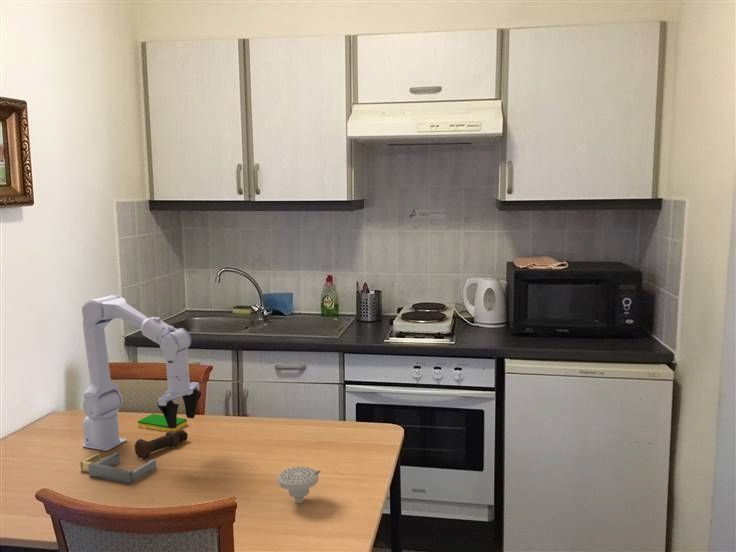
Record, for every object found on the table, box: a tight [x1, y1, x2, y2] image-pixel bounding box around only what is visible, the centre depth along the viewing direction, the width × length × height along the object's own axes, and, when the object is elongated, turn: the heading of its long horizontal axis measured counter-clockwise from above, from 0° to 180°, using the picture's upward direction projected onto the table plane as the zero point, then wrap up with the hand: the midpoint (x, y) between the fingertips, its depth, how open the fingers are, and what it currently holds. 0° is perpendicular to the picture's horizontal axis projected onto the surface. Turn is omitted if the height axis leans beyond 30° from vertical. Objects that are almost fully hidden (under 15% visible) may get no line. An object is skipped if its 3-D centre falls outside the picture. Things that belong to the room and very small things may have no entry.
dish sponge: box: [137, 413, 188, 433], centre depth 204 cm, size 7×14×2 cm, turn 65°
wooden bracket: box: [79, 452, 111, 473], centre depth 175 cm, size 5×6×2 cm
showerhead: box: [277, 466, 322, 504], centre depth 153 cm, size 9×7×10 cm
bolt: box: [134, 429, 188, 460], centre depth 186 cm, size 6×5×15 cm
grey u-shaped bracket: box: [88, 452, 157, 486], centre depth 171 cm, size 14×10×3 cm
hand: (181, 422), depth 178 cm, fingers open, 7 cm apart
